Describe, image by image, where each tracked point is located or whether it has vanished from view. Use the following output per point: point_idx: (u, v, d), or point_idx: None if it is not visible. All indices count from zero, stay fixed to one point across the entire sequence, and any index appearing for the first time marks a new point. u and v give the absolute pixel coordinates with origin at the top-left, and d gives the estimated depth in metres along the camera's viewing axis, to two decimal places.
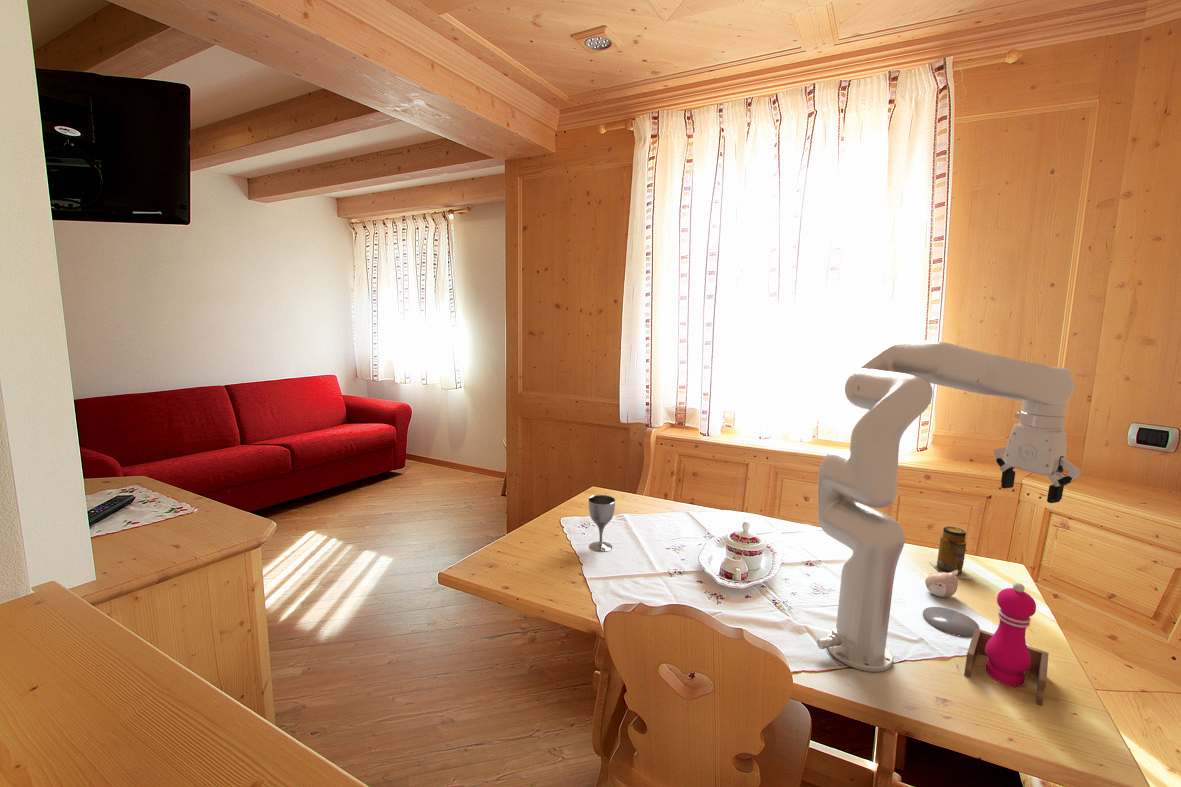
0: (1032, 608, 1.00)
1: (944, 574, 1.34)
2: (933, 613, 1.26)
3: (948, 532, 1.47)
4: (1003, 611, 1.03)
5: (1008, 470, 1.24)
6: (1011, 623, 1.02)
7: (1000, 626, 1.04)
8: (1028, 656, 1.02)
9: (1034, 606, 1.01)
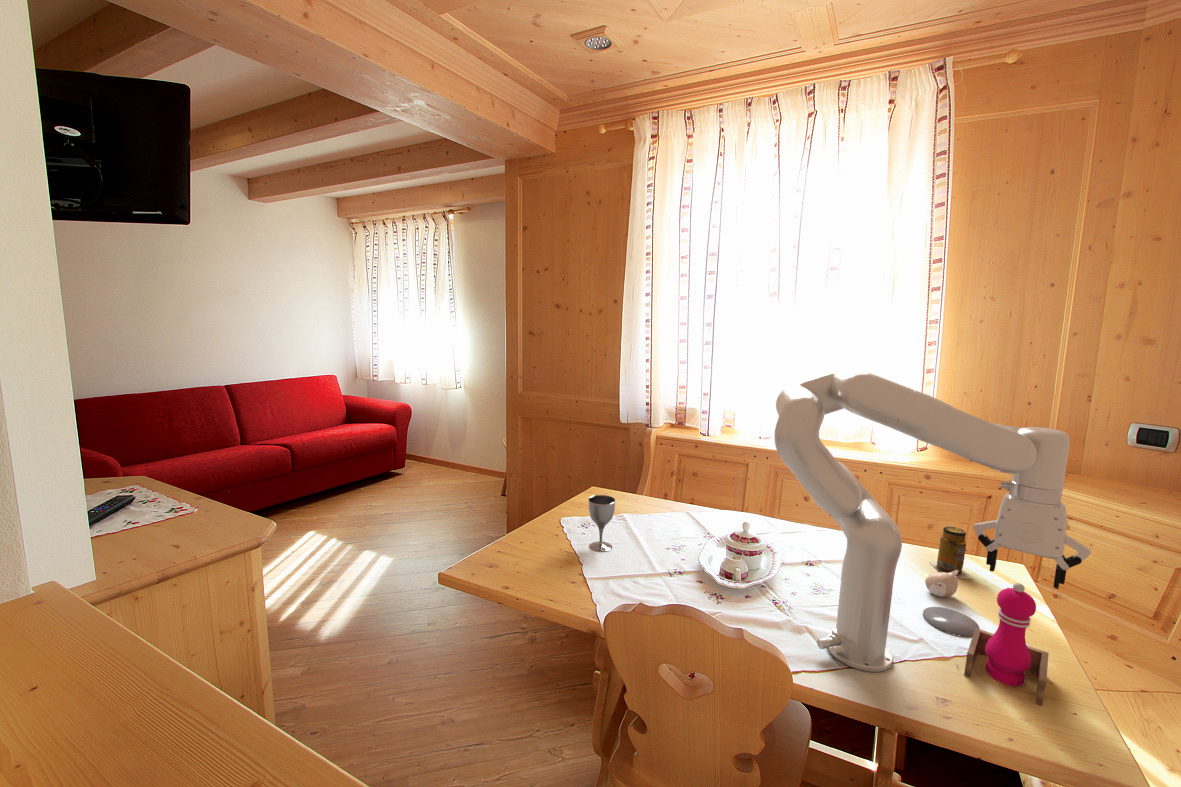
0: (1032, 608, 1.00)
1: (944, 574, 1.34)
2: (933, 613, 1.26)
3: (948, 532, 1.47)
4: (1003, 611, 1.03)
5: (995, 549, 1.04)
6: (1011, 623, 1.02)
7: (1000, 626, 1.04)
8: (1028, 656, 1.02)
9: (1034, 606, 1.01)
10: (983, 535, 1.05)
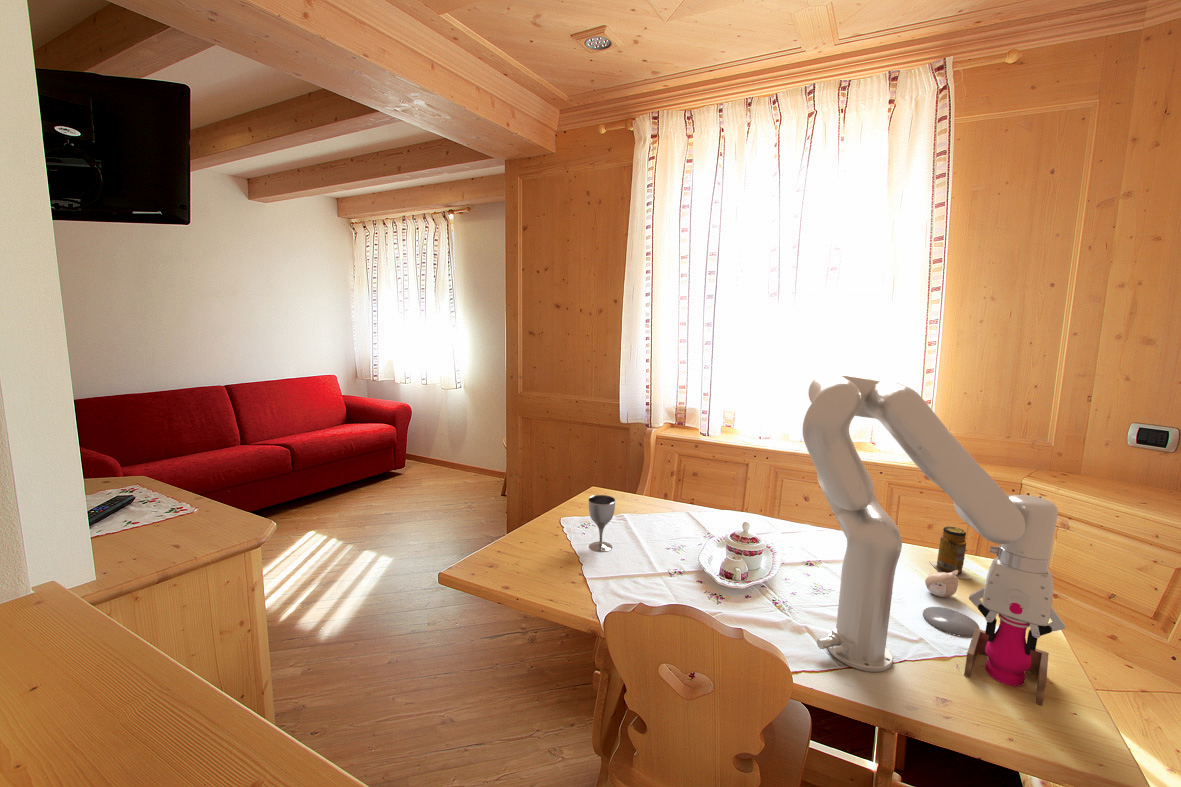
0: None
1: (944, 574, 1.34)
2: (933, 613, 1.26)
3: (948, 532, 1.47)
4: None
5: (994, 620, 1.05)
6: (1012, 623, 1.02)
7: (1001, 626, 1.04)
8: (1028, 656, 1.02)
9: None
10: (983, 605, 1.06)
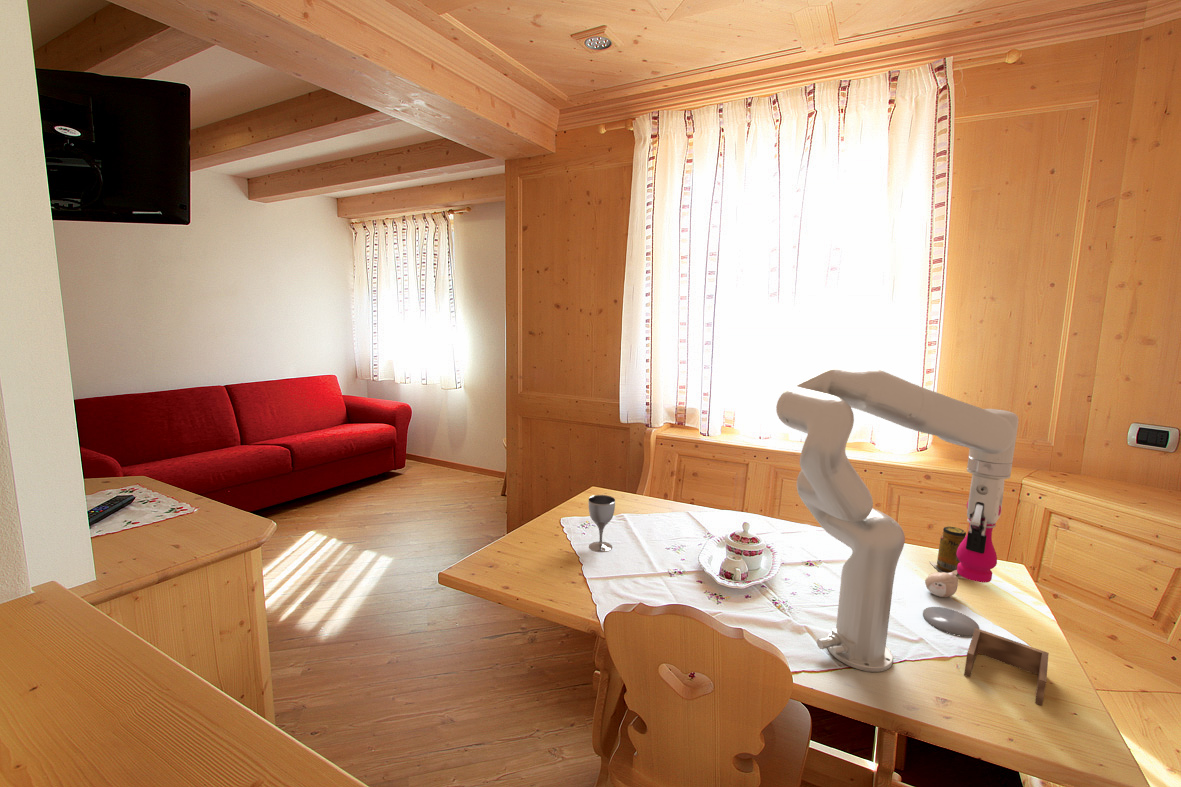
0: None
1: (944, 574, 1.34)
2: (933, 613, 1.26)
3: (948, 532, 1.47)
4: None
5: None
6: (995, 525, 1.12)
7: None
8: None
9: None
10: (980, 525, 1.10)
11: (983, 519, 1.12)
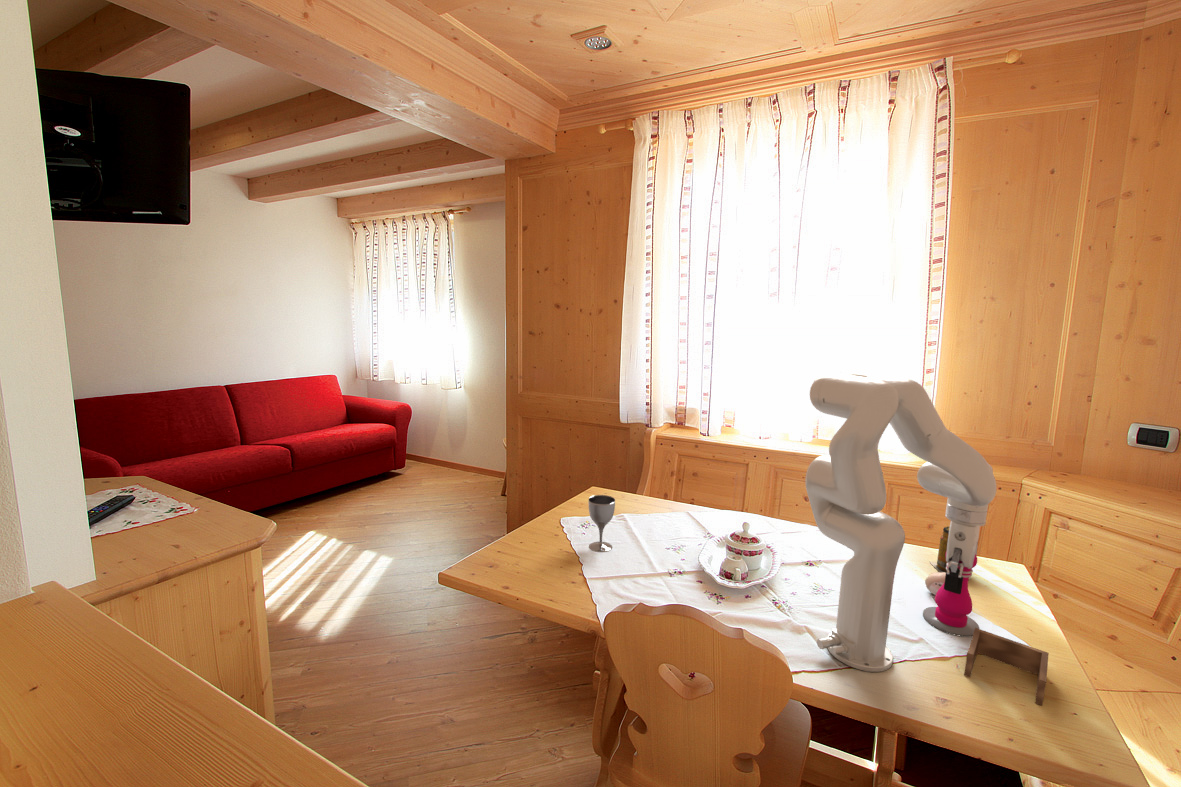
0: None
1: (944, 574, 1.34)
2: (933, 613, 1.26)
3: (948, 532, 1.47)
4: (966, 569, 1.19)
5: None
6: (971, 574, 1.20)
7: None
8: None
9: None
10: (957, 567, 1.16)
11: None
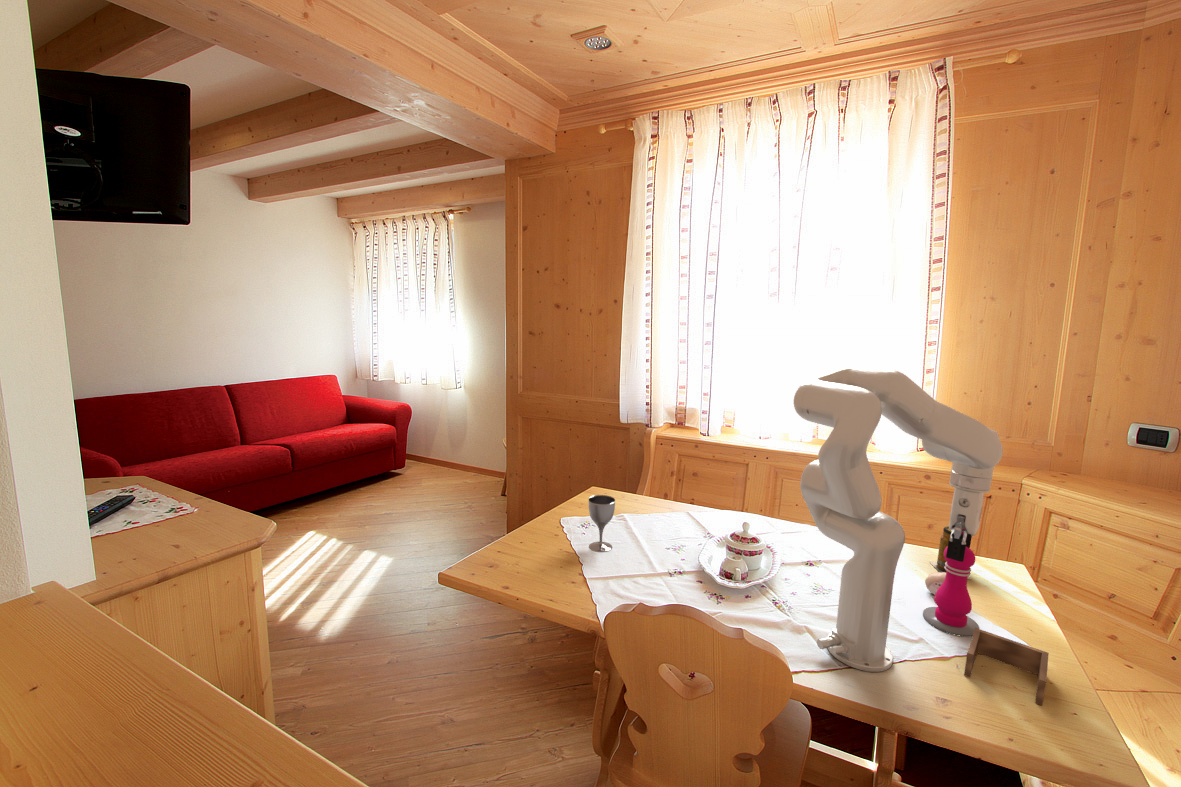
0: None
1: (944, 574, 1.34)
2: (933, 613, 1.26)
3: (948, 532, 1.47)
4: (965, 568, 1.19)
5: None
6: (970, 573, 1.20)
7: (959, 582, 1.20)
8: None
9: None
10: (960, 534, 1.14)
11: (959, 568, 1.20)
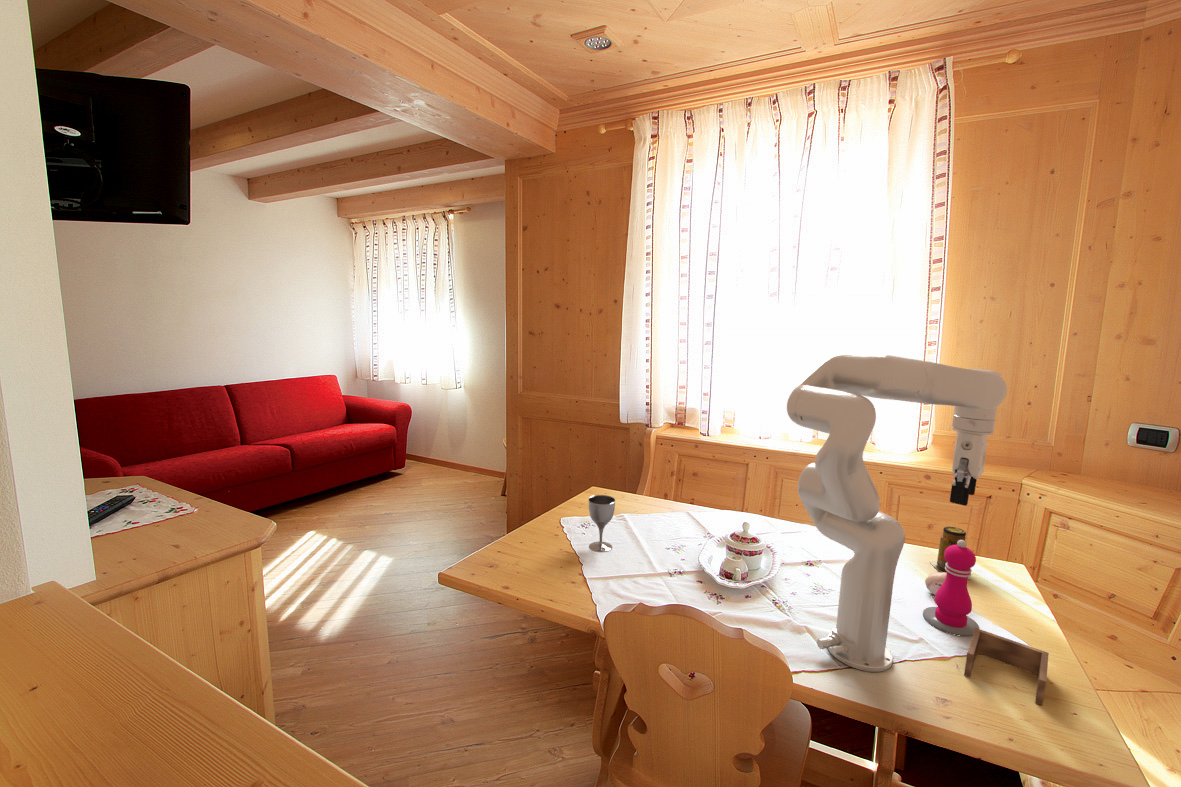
0: None
1: (944, 574, 1.34)
2: (933, 613, 1.26)
3: (948, 532, 1.47)
4: (965, 569, 1.19)
5: None
6: (970, 574, 1.20)
7: (960, 583, 1.20)
8: None
9: None
10: (963, 477, 1.13)
11: (959, 569, 1.19)
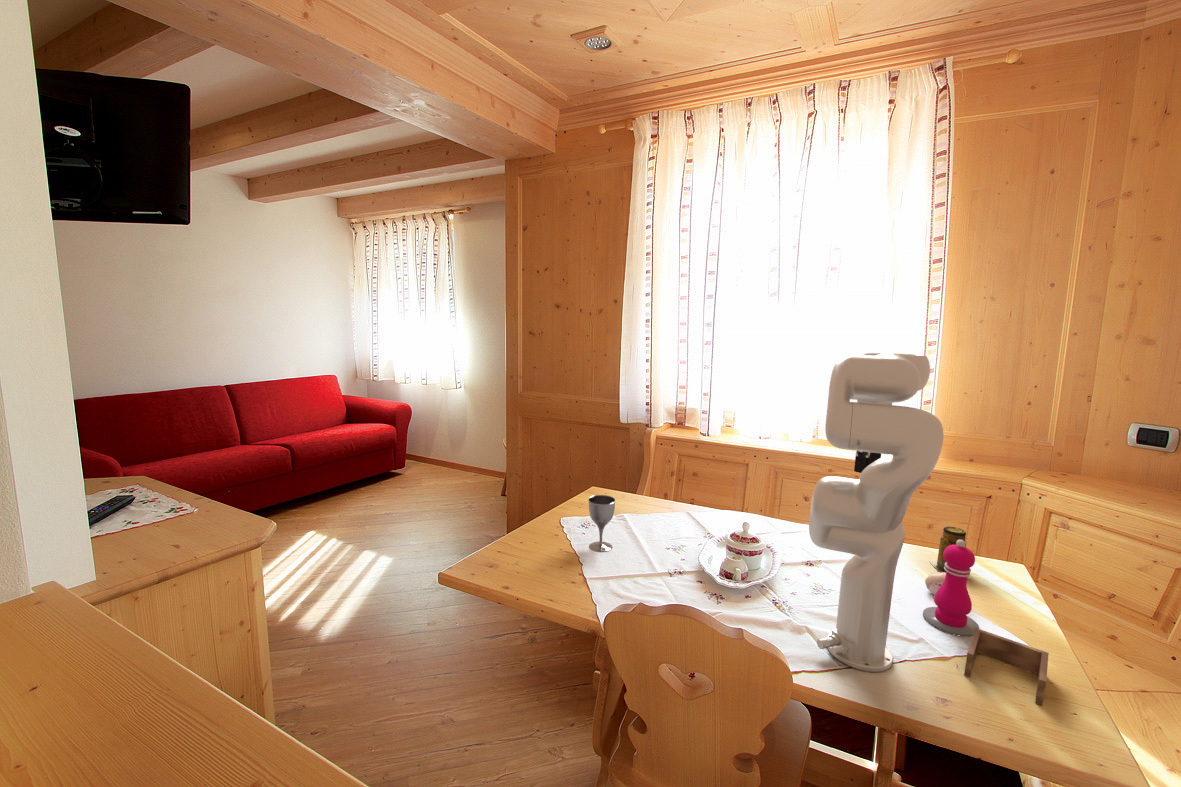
0: None
1: (944, 574, 1.34)
2: (933, 613, 1.26)
3: (948, 532, 1.47)
4: (964, 569, 1.19)
5: None
6: (969, 574, 1.20)
7: (959, 583, 1.20)
8: None
9: None
10: None
11: (958, 568, 1.19)
